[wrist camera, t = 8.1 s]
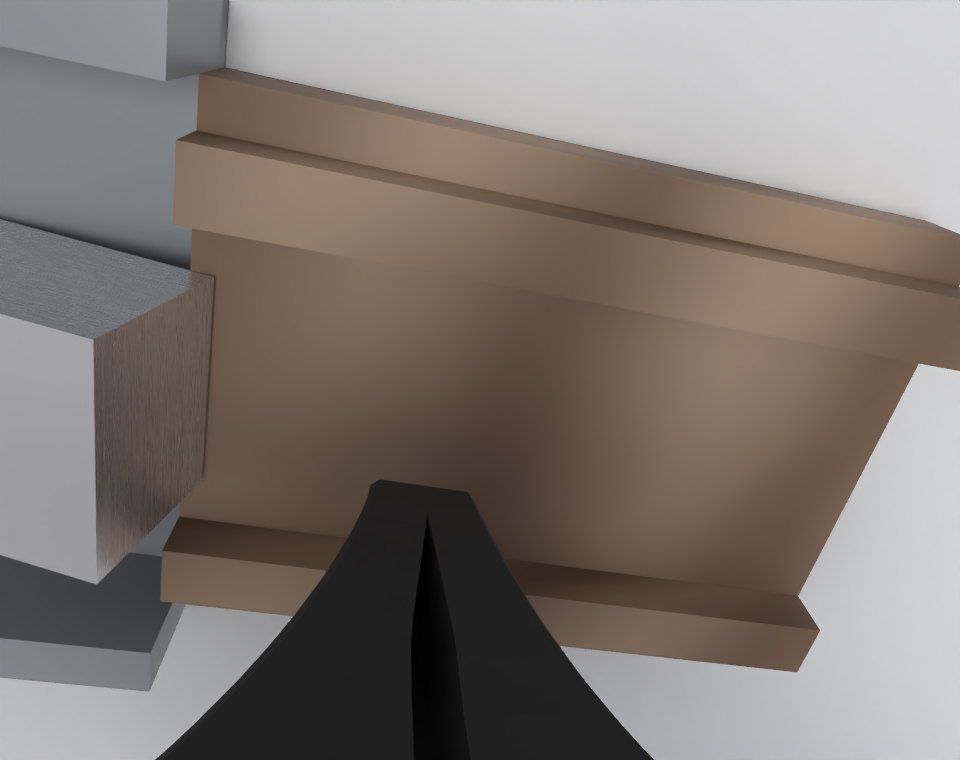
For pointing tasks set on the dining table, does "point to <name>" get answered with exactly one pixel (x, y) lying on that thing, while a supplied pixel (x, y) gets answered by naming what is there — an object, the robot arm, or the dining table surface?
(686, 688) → the dining table surface
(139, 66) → the tray
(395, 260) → the ridged plate
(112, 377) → the steel chip
